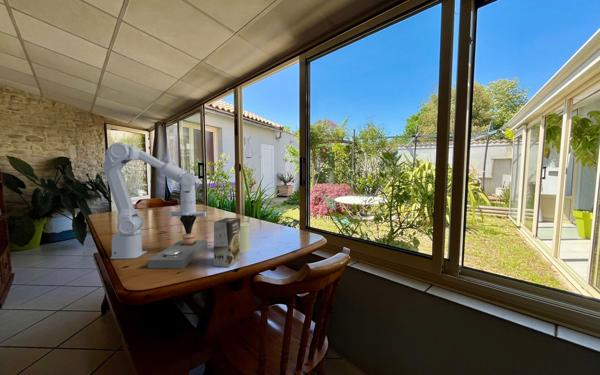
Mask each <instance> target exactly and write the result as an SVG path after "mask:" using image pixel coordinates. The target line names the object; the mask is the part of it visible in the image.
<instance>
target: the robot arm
mask: <svg viewBox="0 0 600 375" xmlns="http://www.w3.org/2000/svg"><path fill="white" fill-rule="evenodd" d="M105 152H106V153H105V154H106V155H105V157H104V158H105V159H104V162H103V166H102V169H103V171H104V174H105V177H106V180H107V184H108V186H109V189H110V192H111V195H112V197H113V201H114V204H115V207H116V210H117V216H116V219H117V231H118V233H116V234H114V236H112V239H111V256H110V259H113V260H114V259H115V260H116V259H120V260H121V259H137V258H139V257H141V256H143V255H145V254H147V253H148V251H147V250H143V235H142V234H143V231H142V230H141V228H142V227H143V224H144V221H143V218H142V217H141V216H140V215H139V214H138V210H136V209H135V207H134V204H133V202H132V198H131V195H130V193H129V190H128V187H127V184H126V181H125V178H124V175H123V172H122V169H123V168H124V167H125V166H126V164H127V163H129V162H131V161H133V160H134V161H142V162H144V163H145V164H148V165H150V166H152V167H153V168H156V169H158V170H160V172H161V175H162V176H164V177H166V178H168V179H171V180H172V181H174V182H176V183H178V182H179V184H180V210H179V211H169V217H170V218H172V217H180V218H179V221H180V222H181V223H182V226H183V228H184V230H185V231H184V232H185V234H192V230H193V226H194V224H195V221H196V220H197V217H202V218H205V217H207V211H202V210H200V211H199V210H197V208H196V205H197V204H196V201H197V198H196V185H195V184H196V182H197V181H196V177H195V175H194V174H193V173H191V172H188V170H187V169H183V168H181V167H179V166H177V164H176V163H175V162H173V163H171V162H166V163H165V162H163V161H162V160H159V159H158V158H156V157H155V156H153V155H151V154H149V153H148V152H146V151H145V150H141V149H139V148H135V147H133V146H131V145H130V144H129V145H128V144H126V143H122V142H114V143H112V144H111V145H110V146H109V147H108V148H107V149H106V150H105Z"/></svg>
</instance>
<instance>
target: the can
mask: <svg viewBox="0 0 600 375" xmlns="http://www.w3.org/2000/svg"><path fill="white" fill-rule="evenodd" d="M250 225H251V224H250V222H247V221H246V222H245V221H240V254H244V253H247V252H249V251H250Z"/></svg>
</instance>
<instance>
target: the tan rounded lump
mask: <svg viewBox="0 0 600 375" xmlns="http://www.w3.org/2000/svg"><path fill="white" fill-rule="evenodd" d="M195 237H196V234H195V233H190V234H186V233H184V234H182V235H181V239H182V240H183V245H184V246H190V245H194V240H195Z"/></svg>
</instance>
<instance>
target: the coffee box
mask: <svg viewBox="0 0 600 375" xmlns="http://www.w3.org/2000/svg"><path fill="white" fill-rule="evenodd" d="M240 222H241V218H240V217H239V218H238V217H225V218H221V219H218V220H215V221H213V266H214V267H221V268H222V267H223V268H230V267H232V266H233V265H234V264H236V263H237V262H238V261H240V260H241V253H240Z"/></svg>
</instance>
